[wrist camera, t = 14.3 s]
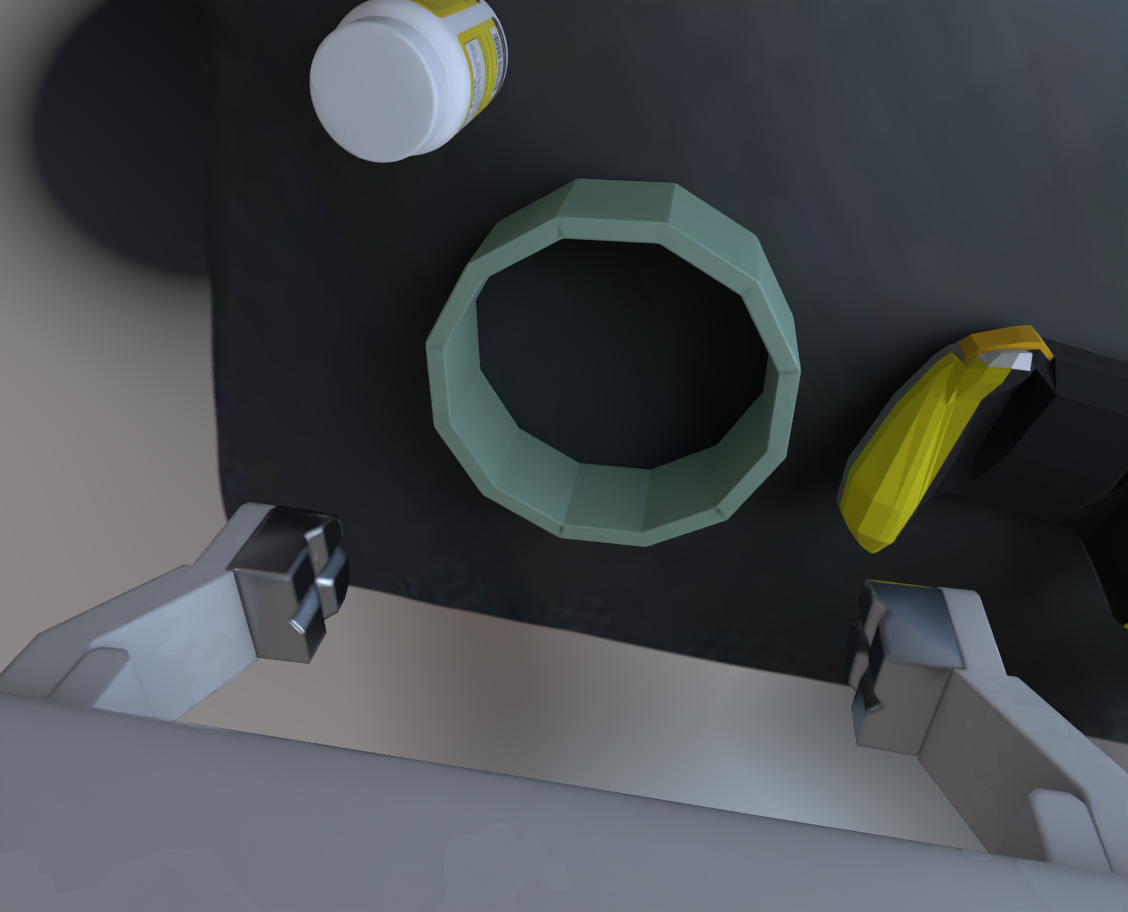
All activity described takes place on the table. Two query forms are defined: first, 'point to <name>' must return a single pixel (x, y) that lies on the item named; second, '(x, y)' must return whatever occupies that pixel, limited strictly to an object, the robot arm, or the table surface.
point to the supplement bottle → (407, 75)
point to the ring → (598, 492)
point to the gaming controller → (1004, 446)
